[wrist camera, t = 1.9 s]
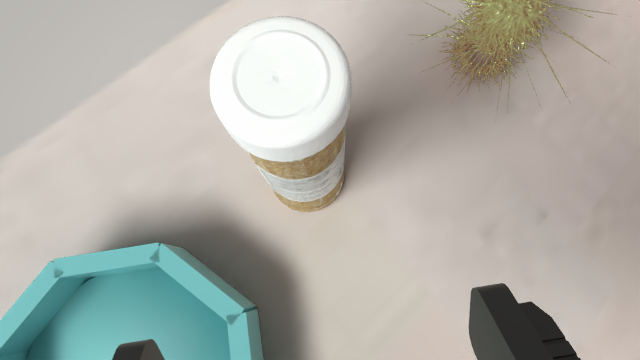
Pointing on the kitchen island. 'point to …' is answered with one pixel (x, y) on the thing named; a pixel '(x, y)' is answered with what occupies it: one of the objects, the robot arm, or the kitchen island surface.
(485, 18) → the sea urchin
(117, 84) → the kitchen island surface
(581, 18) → the kitchen island surface
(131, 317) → the bowl
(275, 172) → the sprinkles bottle
